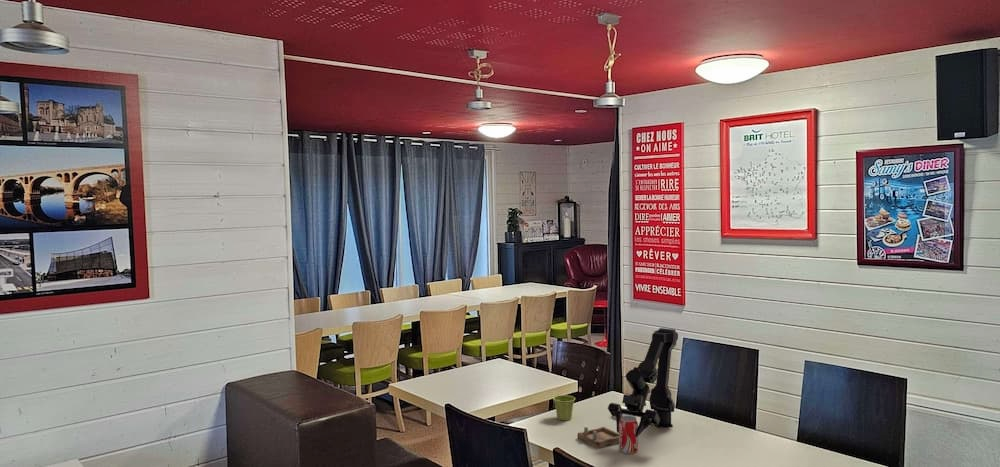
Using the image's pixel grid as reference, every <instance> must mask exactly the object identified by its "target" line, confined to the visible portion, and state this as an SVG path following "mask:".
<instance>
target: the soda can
mask: <svg viewBox="0 0 1000 467" xmlns="http://www.w3.org/2000/svg"><path fill="white" fill-rule="evenodd" d="M620 419H621V420H620V422H619V443H618V449H619V450H620V451H621V453H622V452H623V453H625V454H635V453H636V452H637V451H638V450H639V436H638V437H636V431H637V429H638V426H639V423H638V421H637V418H635V417H632V416H623V417H621V418H620Z"/></svg>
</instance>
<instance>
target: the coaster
mask: <svg viewBox="0 0 1000 467" xmlns="http://www.w3.org/2000/svg"><path fill="white" fill-rule="evenodd" d="M620 406H621V408H624V409H627V407H625V405H620ZM622 416H632V415H627V414H623V415H622ZM612 417H613V418H614V419H616V417H615V416H612ZM632 417H635V418H636V419H637V418H638V417H637V416H632Z"/></svg>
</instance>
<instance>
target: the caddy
mask: <svg viewBox="0 0 1000 467" xmlns="http://www.w3.org/2000/svg"><path fill="white" fill-rule="evenodd" d="M583 428H584V429H583V430H584V431H579V432H577V439H578V440H580V441H582V442H584V443H586V444H588V445H590V446H592V447H594V448H596V449H601V448H604V447H610V446H613V445H615V444H616V445H617V444H619V433H617V431H614V430H612V429H610V428H608V427H605V426H601V427H597V428H593V429H589V427H588V426H585V427H583Z"/></svg>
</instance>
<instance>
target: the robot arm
mask: <svg viewBox="0 0 1000 467" xmlns="http://www.w3.org/2000/svg"><path fill="white" fill-rule="evenodd" d="M678 339H679V334H678V332H677V331H676V330H675V329H671V328H664V327H663V328H662V327H659V328H658V330H654V331H653V333H652V334H651V342H650V344H649V347H648V349H647V352H646V355H645V358H644V360H643V361H641V362H640V363H639V365H638V366H637V367H636V366H634V367H633V369H631V370H629V371H627V373H626V374H625V379H626V381H627V383H628V385H629V386H630V388H631V389H632V392H631V393H630V394H623V396H622V402H621V403H622V404H624V406H625V407H627V409H624V408H621V406H622V405H621V404H619V403H616V402H615V403H614V402H611V403H609V404H608V405H607V410H608V412H609V413H610V415H611V416H612V417H613V416H615V417H616V418H615V420H616V433H619V422H620V420H621V419H620V418H621V417H623V416H622V415H623V414H627V415H632V416H637V418H638V417H639V418H640V420H639V423H638V429H637V431H636V437H638V438H639V436H640V434H642V433H643V432H644V430H646V429H647V428H649V427H651V426H653V425H655V426H656V427H657V428H666V427H668V428H669V427H673V426H674V425H673V424H672V413H674V412H675V409H676V408H675V406H676V404H675V402H674V400H673V399H672V392H671V389H670V388H669V379H670V369H671V358H672V352H673V350H674V348H675V347H676V346H677V342H678ZM654 383H656V384H655V386H654V387H653V388H651V389H650V386H649V384H654ZM649 394H650V395H649ZM648 396H649V399H648ZM647 399H648V400H649V401H648V402H649V407H650V409H645V411H644V408H645V407H647V406H646V405H647V403H646V401H647Z"/></svg>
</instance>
